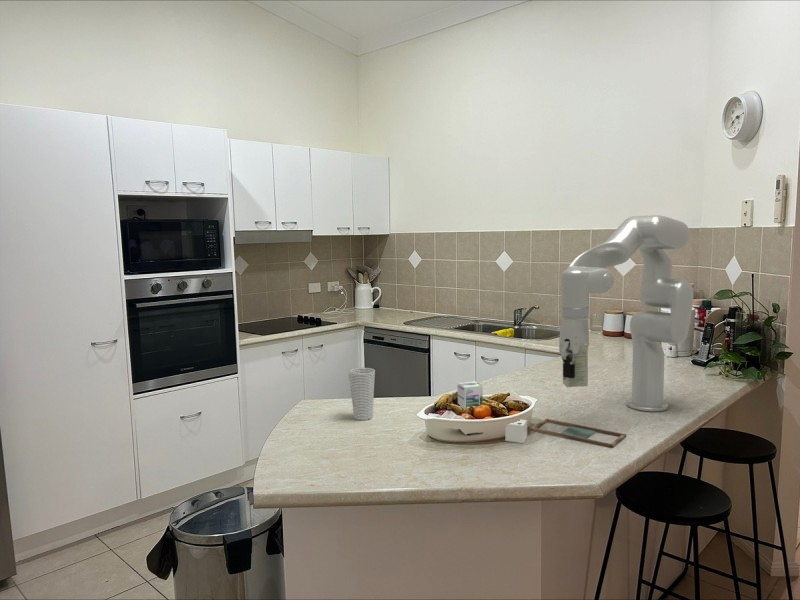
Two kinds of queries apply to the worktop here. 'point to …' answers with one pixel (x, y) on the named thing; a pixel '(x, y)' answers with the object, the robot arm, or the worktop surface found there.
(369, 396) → the cup
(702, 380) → the worktop surface
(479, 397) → the syrup box
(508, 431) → the die
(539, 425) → the wooden frame
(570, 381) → the skincare box
